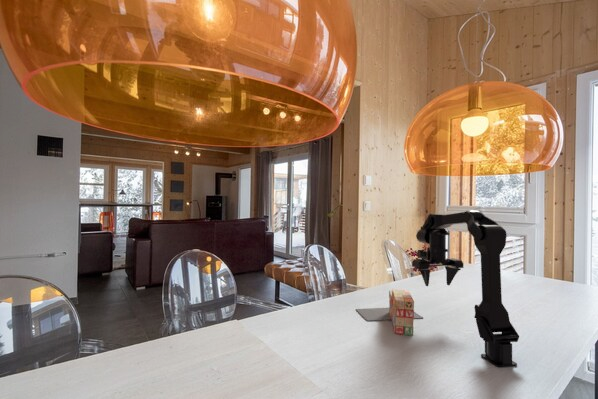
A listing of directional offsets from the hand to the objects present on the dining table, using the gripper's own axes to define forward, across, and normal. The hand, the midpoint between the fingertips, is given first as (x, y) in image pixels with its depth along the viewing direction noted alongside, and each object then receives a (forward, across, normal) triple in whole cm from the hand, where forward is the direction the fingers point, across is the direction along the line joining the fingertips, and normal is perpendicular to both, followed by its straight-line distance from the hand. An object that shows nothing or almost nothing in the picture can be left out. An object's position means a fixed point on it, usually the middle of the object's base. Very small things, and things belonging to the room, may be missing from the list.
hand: (437, 285), depth 114 cm
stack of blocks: (+14, +15, -2) cm, 21 cm away
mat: (+15, +15, -12) cm, 24 cm away
